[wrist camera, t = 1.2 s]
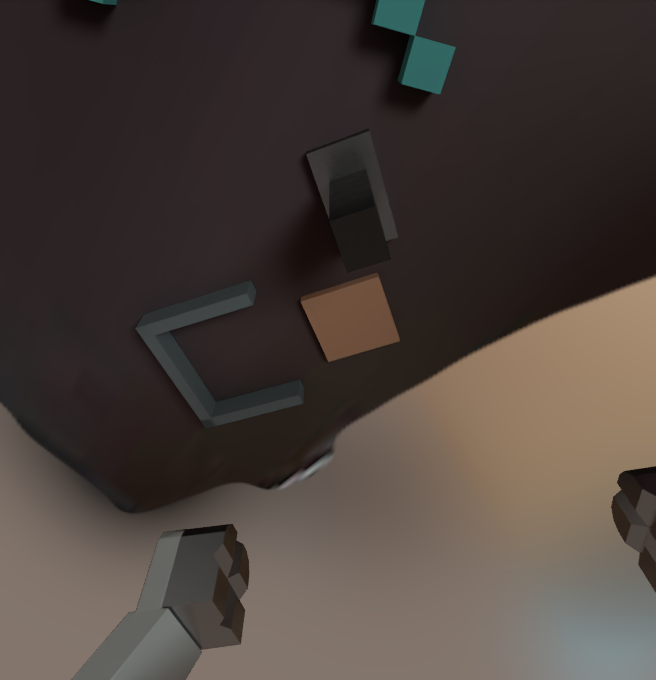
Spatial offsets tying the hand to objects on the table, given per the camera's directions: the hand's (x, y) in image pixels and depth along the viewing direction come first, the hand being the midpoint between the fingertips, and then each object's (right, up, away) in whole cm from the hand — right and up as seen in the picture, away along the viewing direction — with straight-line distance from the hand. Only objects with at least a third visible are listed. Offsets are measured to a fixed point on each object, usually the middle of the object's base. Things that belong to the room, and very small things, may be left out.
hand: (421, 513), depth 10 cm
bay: (-10, +3, +27) cm, 29 cm away
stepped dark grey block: (0, +13, +20) cm, 24 cm away
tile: (0, +6, +26) cm, 27 cm away
